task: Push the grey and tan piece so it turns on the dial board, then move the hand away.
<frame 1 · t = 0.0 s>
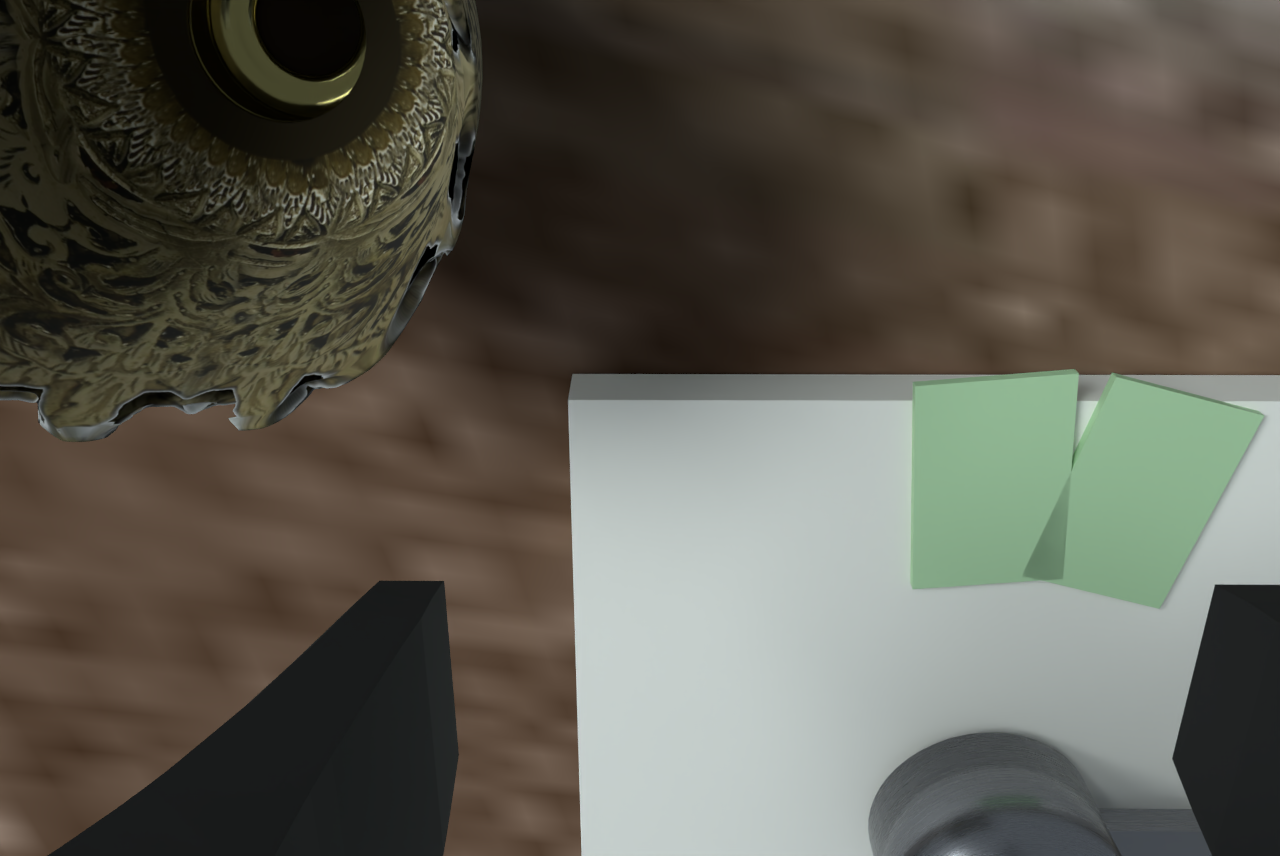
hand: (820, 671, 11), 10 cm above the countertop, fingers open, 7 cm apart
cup: (314, 19, 18), on the countertop
dial board: (959, 768, 24), on the countertop
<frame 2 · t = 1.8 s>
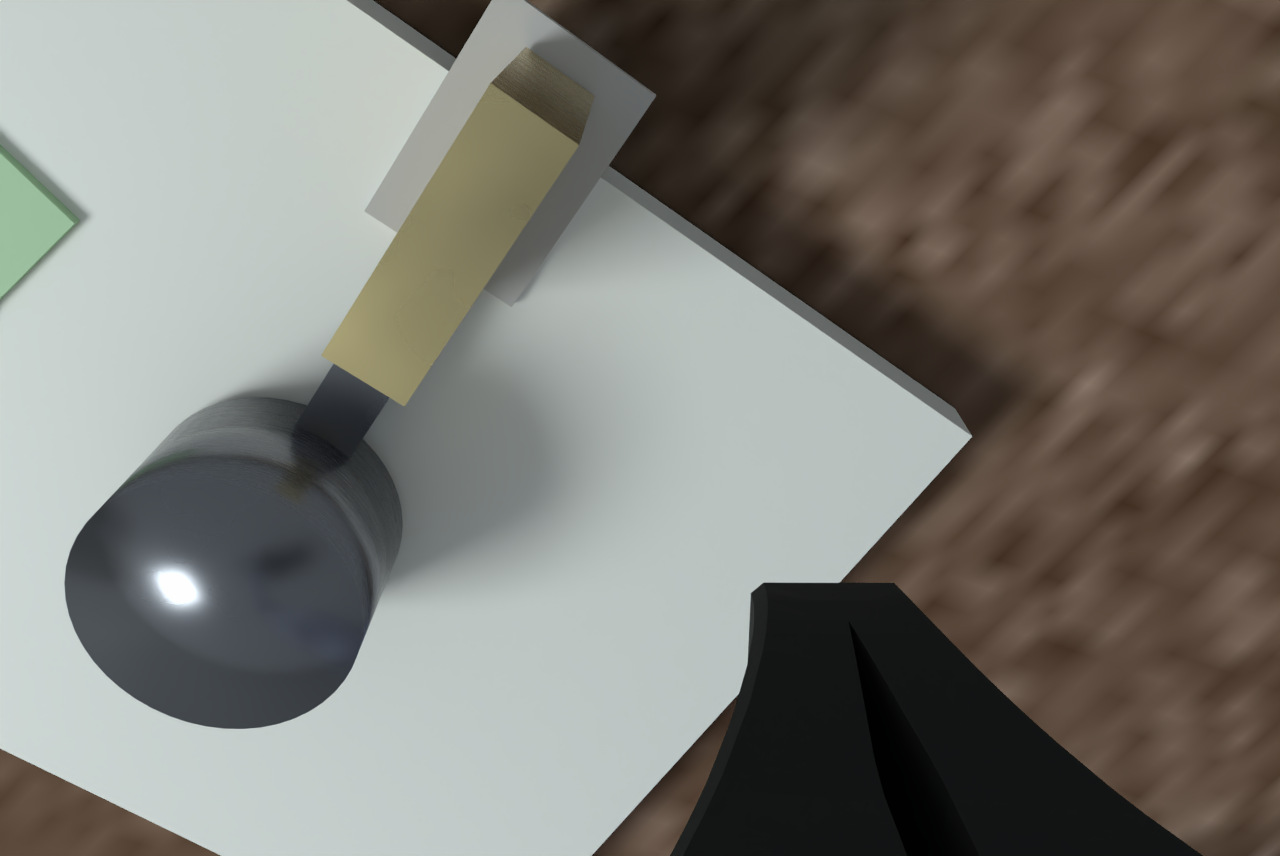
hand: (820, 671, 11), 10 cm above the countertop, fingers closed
dial board: (300, 475, 21), on the countertop
grey and tan piece: (341, 413, 17), point 4 cm above the countertop, hinge at 0.0°
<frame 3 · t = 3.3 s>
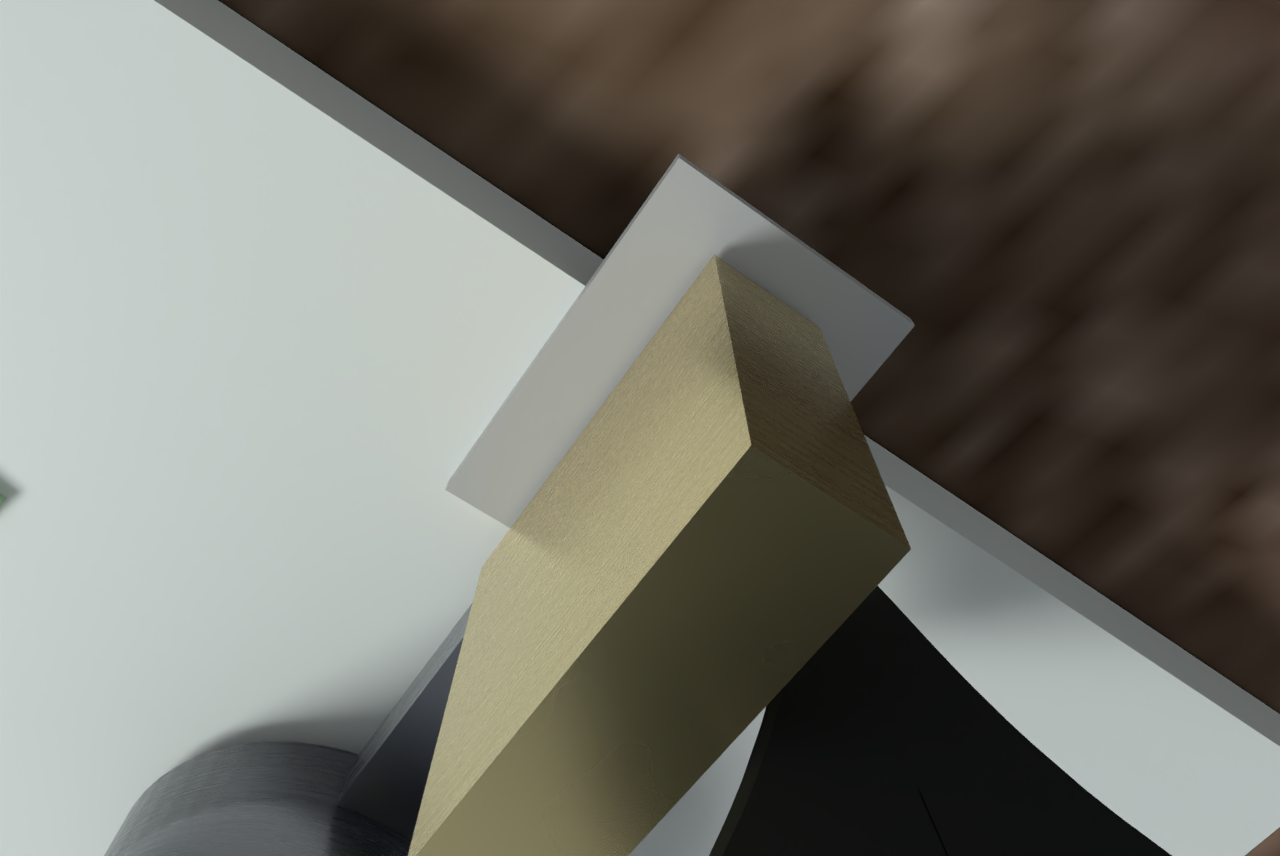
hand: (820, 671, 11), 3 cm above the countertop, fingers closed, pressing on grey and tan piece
dial board: (336, 798, 15), on the countertop
grey and tan piece: (416, 836, 10), point 3 cm above the countertop, hinge at 0.0°, touching gripper
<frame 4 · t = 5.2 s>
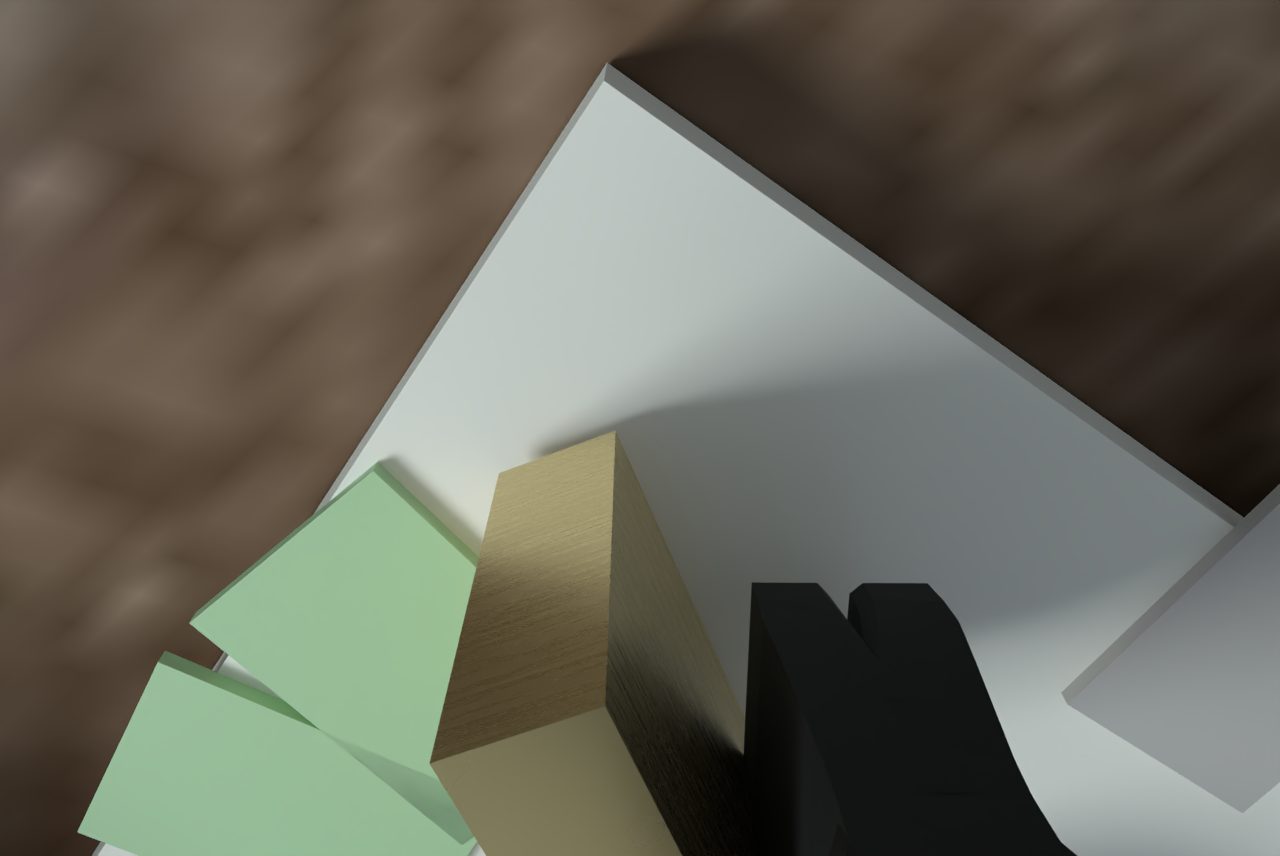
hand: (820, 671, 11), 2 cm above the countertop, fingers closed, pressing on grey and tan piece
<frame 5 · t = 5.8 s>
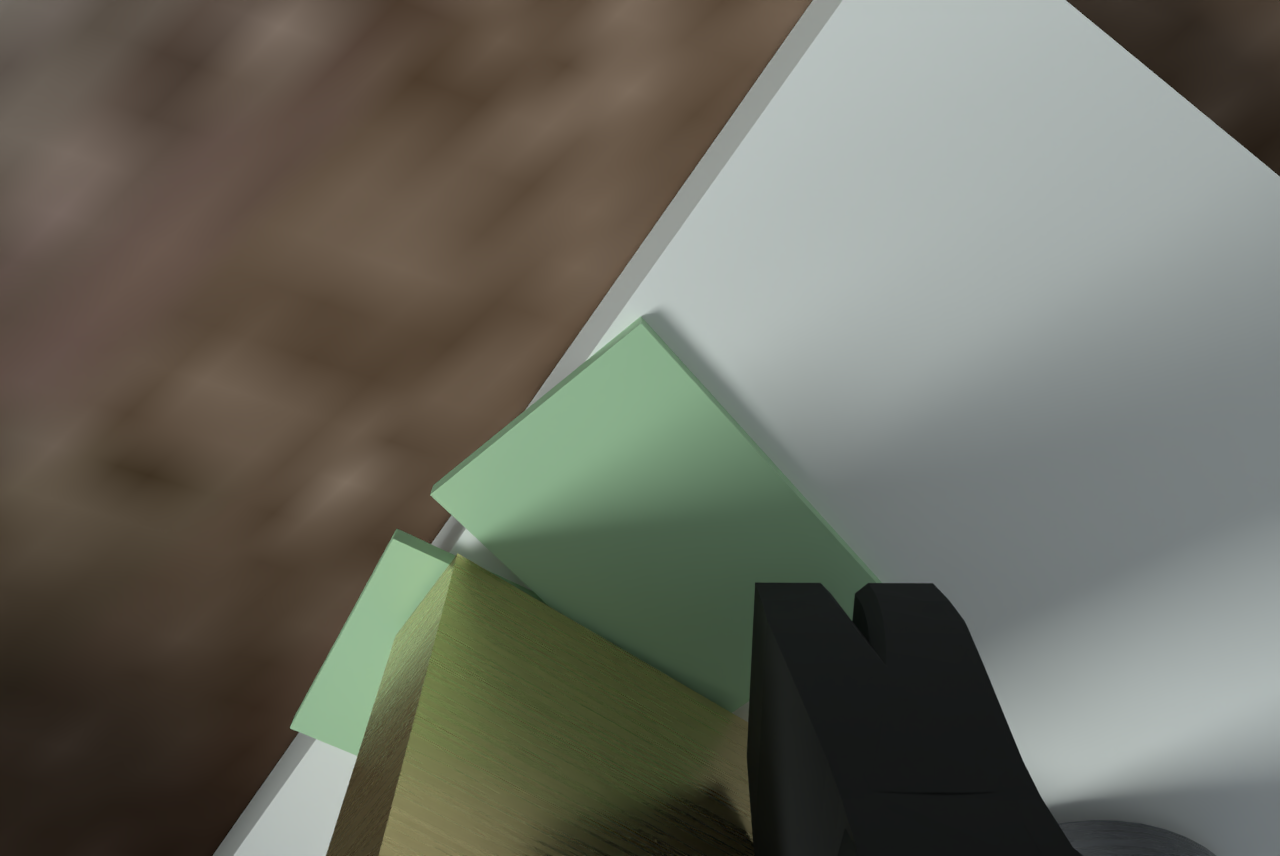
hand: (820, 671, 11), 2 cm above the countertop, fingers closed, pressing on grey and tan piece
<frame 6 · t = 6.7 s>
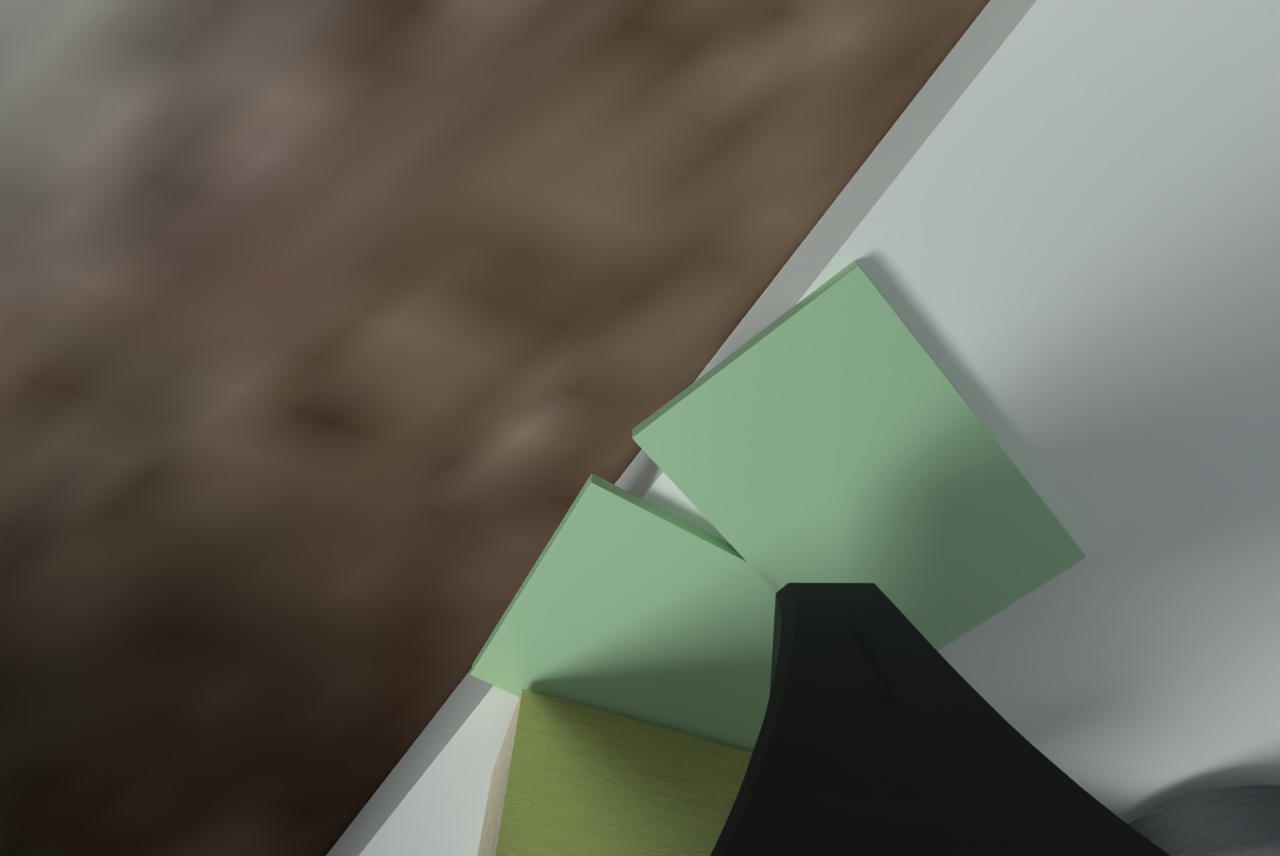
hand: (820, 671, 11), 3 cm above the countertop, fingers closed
dial board: (1176, 835, 15), on the countertop
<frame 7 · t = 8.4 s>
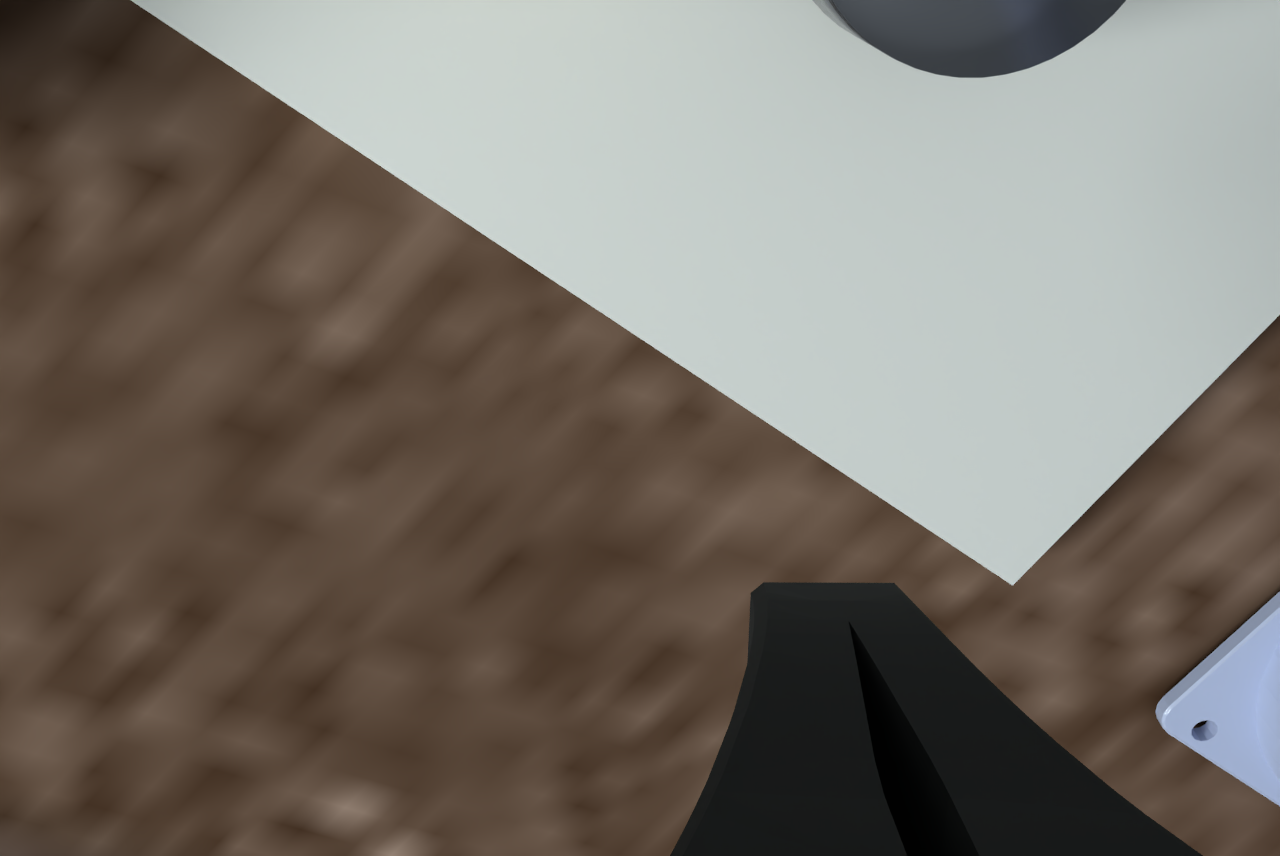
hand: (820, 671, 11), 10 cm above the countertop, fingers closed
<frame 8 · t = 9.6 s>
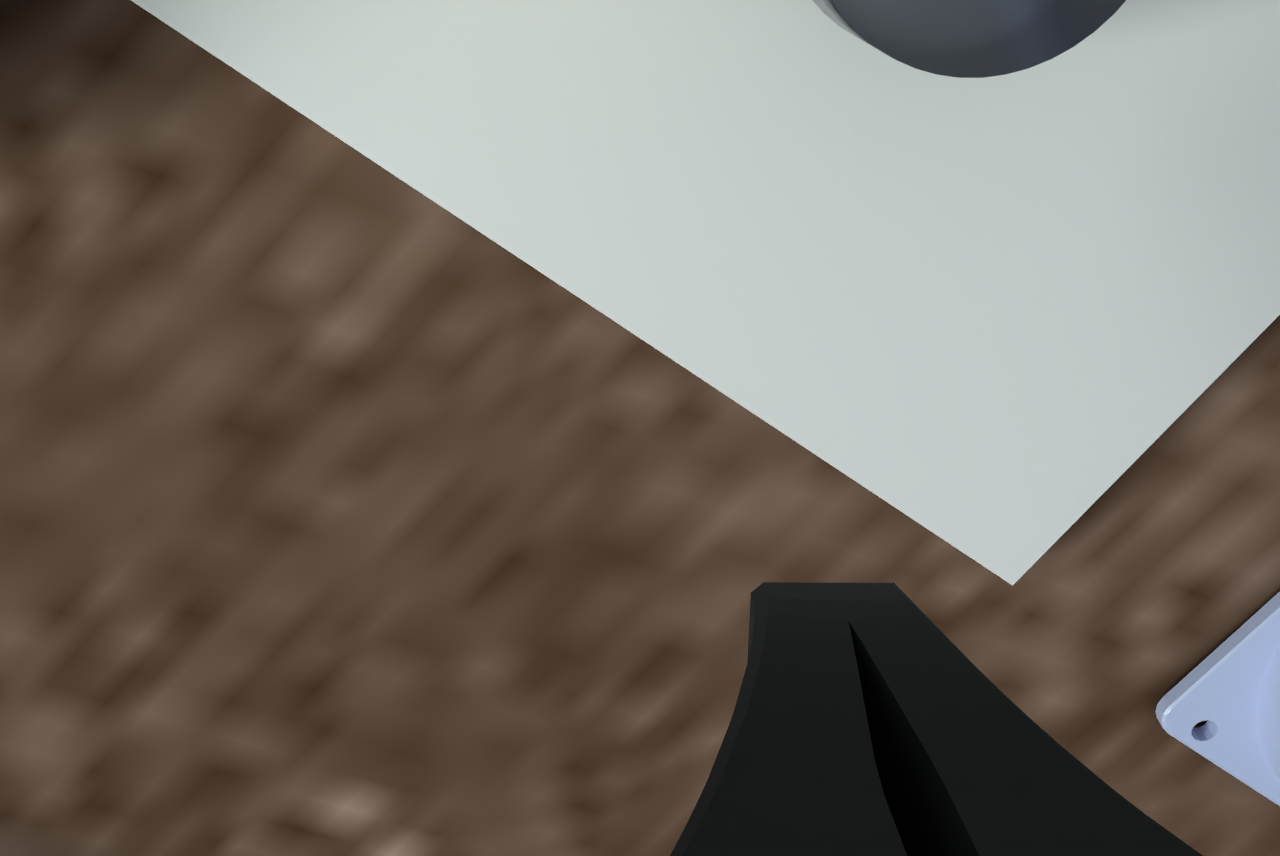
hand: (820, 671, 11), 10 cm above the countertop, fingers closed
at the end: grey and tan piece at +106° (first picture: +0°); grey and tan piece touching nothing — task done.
